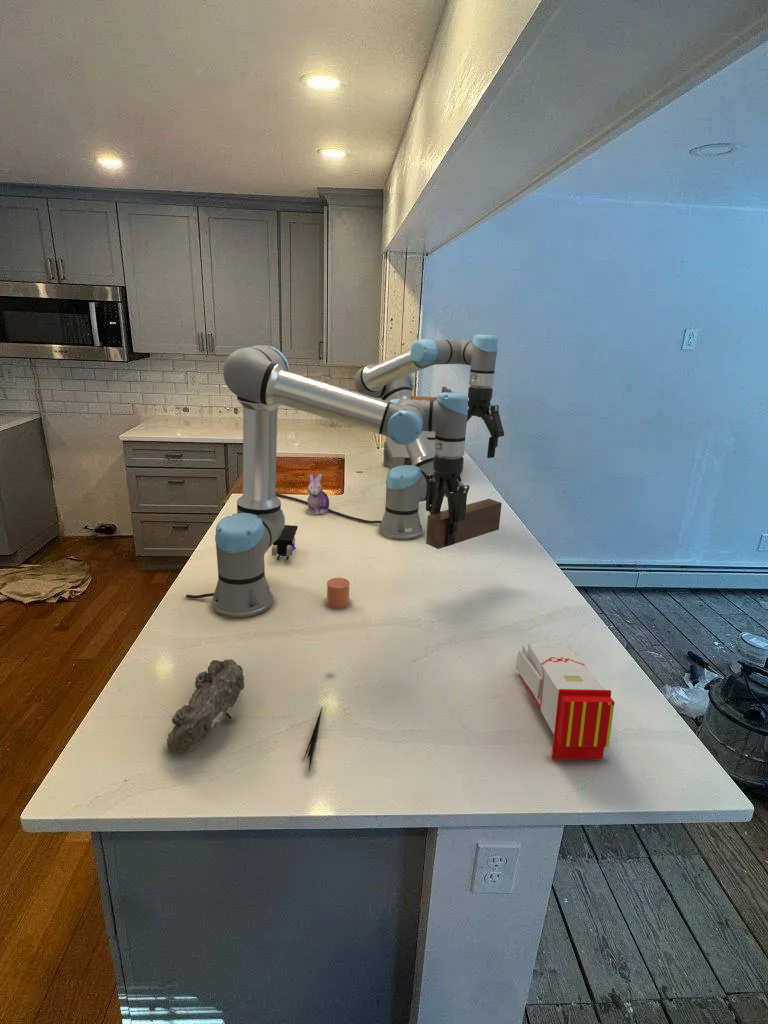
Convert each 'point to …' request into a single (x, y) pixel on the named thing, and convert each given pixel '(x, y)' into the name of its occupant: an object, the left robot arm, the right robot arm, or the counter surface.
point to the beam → (464, 523)
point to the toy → (568, 700)
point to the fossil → (206, 705)
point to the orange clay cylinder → (338, 592)
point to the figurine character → (285, 542)
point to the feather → (313, 740)
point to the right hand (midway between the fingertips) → (474, 453)
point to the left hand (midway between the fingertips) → (442, 541)
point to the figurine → (317, 496)
